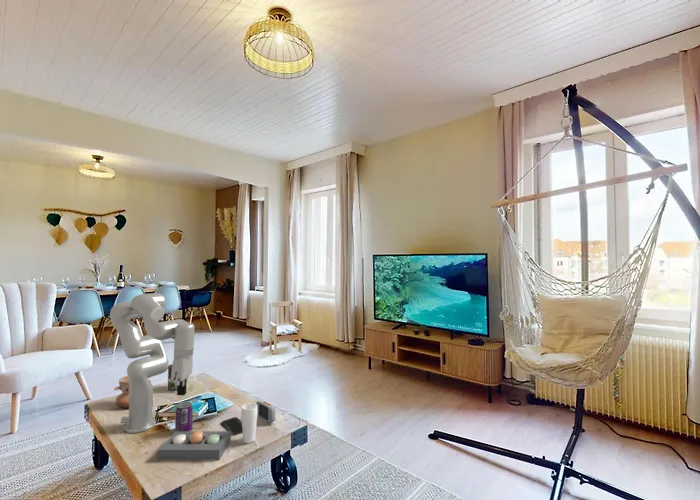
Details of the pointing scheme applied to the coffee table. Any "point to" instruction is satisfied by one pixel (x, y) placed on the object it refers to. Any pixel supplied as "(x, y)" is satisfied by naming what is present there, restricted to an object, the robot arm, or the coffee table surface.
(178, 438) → the button ivory
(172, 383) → the coffee can
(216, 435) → the button sage
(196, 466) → the coffee table surface
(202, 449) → the grey slotted block
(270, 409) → the handheld gaming console
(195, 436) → the button terracotta
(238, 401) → the coffee table surface
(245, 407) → the drinking glass
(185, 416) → the beverage can
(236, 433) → the phone
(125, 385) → the ceramic jug
